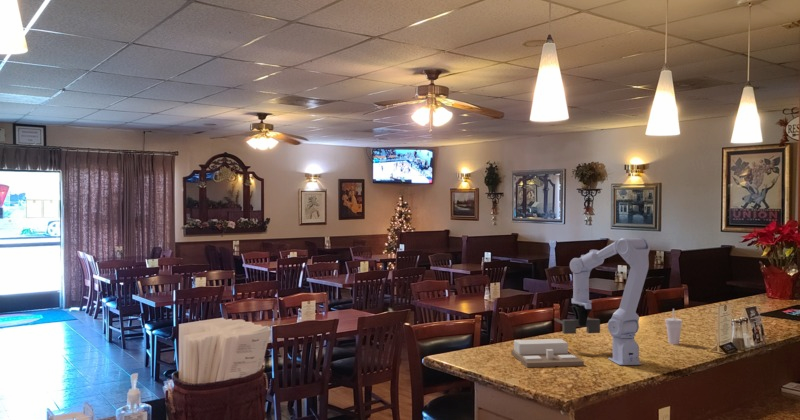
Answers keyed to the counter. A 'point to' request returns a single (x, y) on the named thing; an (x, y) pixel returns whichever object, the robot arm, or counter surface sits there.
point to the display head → (544, 353)
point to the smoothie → (673, 329)
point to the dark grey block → (571, 325)
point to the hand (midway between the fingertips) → (581, 325)
